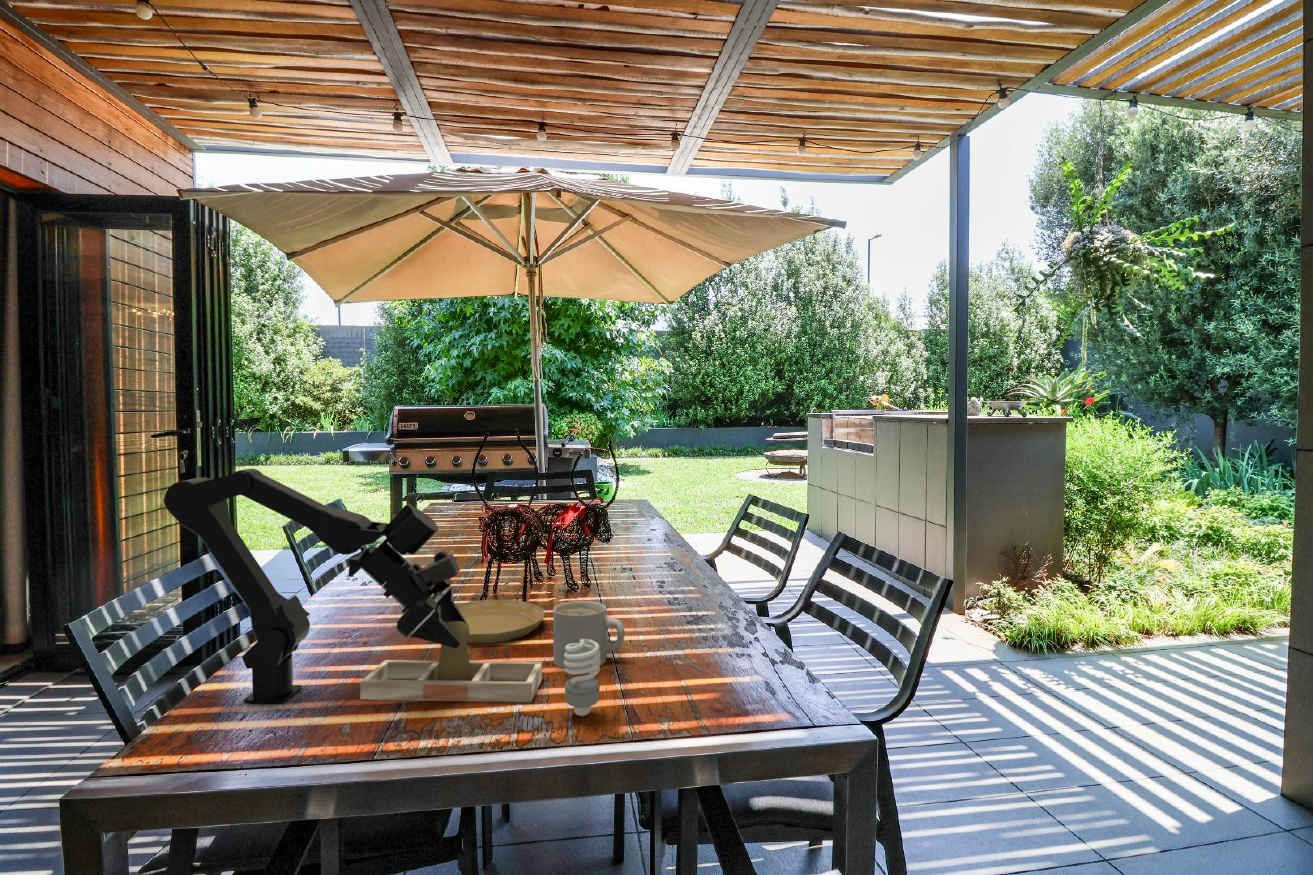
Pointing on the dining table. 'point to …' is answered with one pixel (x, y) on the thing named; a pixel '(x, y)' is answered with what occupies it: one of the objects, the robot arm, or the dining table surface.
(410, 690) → the rack
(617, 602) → the dining table surface
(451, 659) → the olive chess pawn
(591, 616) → the coffee mug
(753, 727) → the dining table surface
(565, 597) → the dining table surface
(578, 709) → the light bulb
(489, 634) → the plant saucer
